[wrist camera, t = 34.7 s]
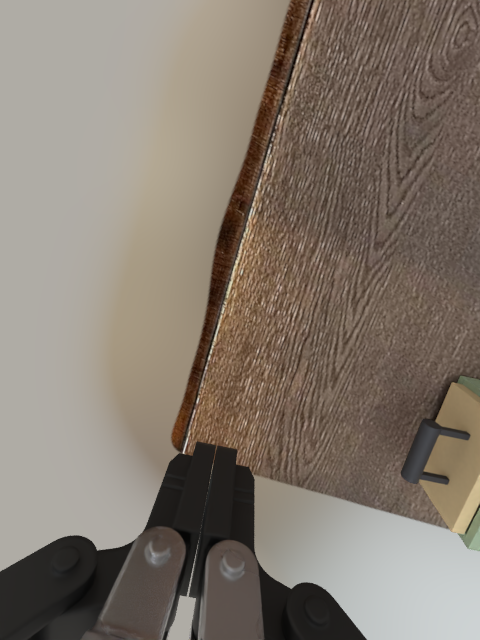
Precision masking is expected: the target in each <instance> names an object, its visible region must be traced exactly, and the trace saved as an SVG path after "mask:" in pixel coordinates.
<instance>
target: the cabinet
mask: <svg viewBox="0 0 480 640" xmlns="http://www.w3.org/2000/svg"><path fill="white" fill-rule="evenodd" d="M457 383H458V384H463V385H464V386H466V387H467V388H468V389H470V390H471V391H472V392H474V393H475V394H476V395H478V396H479V397H480V379H475V378H470V377H465V376H460V378H459V380H458V382H457ZM458 535H459V536H460V537H461V539H462V540H463V542H464V544H465V545H466V547H467V548H468V549H471V550H476V551H480V508H479V510H478V512H477V514H476V516H475V518H474V520H473V519H472V520H471V522H470V523H469V525H468V527H467V529H466V531H465V533H464V534H460V533H458Z"/></svg>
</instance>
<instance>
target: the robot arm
mask: <svg viewBox="0 0 480 640" xmlns="http://www.w3.org/2000/svg"><path fill="white" fill-rule="evenodd" d="M215 448H216V445H212V444H207V443H202V442H196V446H195V450H194V453H193V456H190V455H185V454H180V453H179V454H178V455H177V456H176V457H175V458H174V459H173V460H171V461H170V463H169V465H168V468H167V471H166V474H165V477H164V479H163V482H162V485H161V487H160V490H159V493H158V495H157V498H156V501H155V504H154V506H153V509H152V512H151V515H150V517H149V520H148V522H147V525H146V527H145V529H144V531H143V532H142V533H141V534H140V535H139V536H138V538H137V539H135V540H134V541H133V542H131V543H129V544H127V545H125V546H122V547H119V548H113V549H106V550H99V551H97V549H96V547H95V545H94V544H93V542H92V541H90V540H89V539H87V538H85V537H82V536H67V537H63V538H60V539H58V540H56V541H54V542H52V543H50V544H48V545H47V546H45V547H43V548H41V549H39V550H38V551H36V552H34V553H32V554H31V555H29V556H27V557H25V558H24V559H22V560H20V561H18V562H16V563H15V564H13V565H11V566H10V567H8V568H6V569H4V570H2V571H1V572H0V640H167V639H168V635H169V632H170V627H171V626H172V624H173V622H174V619H175V616H176V611H177V606H178V601H179V596H180V595H182V596H187V591H188V587H189V582H190V578H191V573H192V568H193V563H194V559H195V554H196V550H197V554H196V560H195V565H194V571H193V576H192V582H191V587H190V593H189V597H193V598H196V602H195V609H194V615H193V620H192V624H191V629H190V635H189V640H367V639H366V638H365V637H364V636H363V634H362V633H361V632H360V631H359V629H358V628H357V627H356V626H355V624H354V623H353V622H352V621H351V619H350V618H349V617H348V616H347V614H346V613H345V612H344V611H343V609H342V608H341V607H340V606H339V604H338V603H337V602H336V601H335V599H334V598H333V597H332V596H331V595H330V594H329V593H328V592H327V591H326V590H325V589H323V588H322V587H320V586H318V585H316V584H313V583H300V584H297V585H296V586H294V587H293V588H292V589H290V588H288V587H287V586H285V585H283V584H282V583H280V582H278V581H276V580H274V579H273V578H272V577H270V576H269V575H268V574H267V573H266V572H265V571H264V570H263V568H262V567H261V566H260V564H259V562H258V560H257V558H256V555H255V551H254V477H253V475H252V473H251V471H250V469H249V467H245V466H240V465H236V457H237V449H232V448H227V447H222V446H217V451H216V455H215V460H214V465H213V459H214V454H215ZM212 465H213V470H212ZM211 470H212V474H211ZM210 476H211V479H210ZM209 481H210V483H209ZM208 487H209V488H208ZM207 492H208V494H207ZM206 498H207V499H206ZM205 503H206V504H205ZM204 509H205V510H204ZM203 514H204V515H203ZM202 520H203V521H202ZM201 525H202V527H201ZM200 531H201V532H200ZM199 536H200V538H199ZM198 541H199V543H198ZM197 545H198V549H197Z"/></svg>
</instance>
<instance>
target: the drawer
mask: <svg viewBox="0 0 480 640" xmlns="http://www.w3.org/2000/svg"><path fill="white" fill-rule="evenodd" d="M401 476H402V477H403V478H404V479H405V480H406V481H408V482H410V483H413V484H417V483H418V482H419V483H420V484H421V486H422V487H423V489H424V490H425V492H426V493H427V495H428V497H429V498H430V500H431V501H432V503H433V504H434V506H435V507H436V509H437V510H438V512H439V514H440V515H441V517H442V518H443V520H444V521H445V523H446V524H447V526H448V527H449V529H450V531H451V532H455V533H460V534H464V533H465V531H466V529H467V527H468V525H469V523H470V522H471V520H472V519H473V520H474V518H475V516H476V514H477V512H478V510H479V508H480V397H479V396H478V395H476V394H475V393H474V392H472V391H471V390H470V389H468V388H467V387H466V386H464V385H463V384H458V383H454V382H452V383H451V386H450V388H449V390H448V393H447V395H446V397H445V400H444V402H443V404H442V407H441V409H440V411H439V414H438V416H437V419H436V421H432V420H430V419H423V420H422V422H421V424H420V427H419V429H418V432H417V434H416V437H415V439H414V441H413V444H412V446H411V449H410V451H409V454H408V456H407V458H406V461H405V463H404V466H403V468H402V471H401Z"/></svg>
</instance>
